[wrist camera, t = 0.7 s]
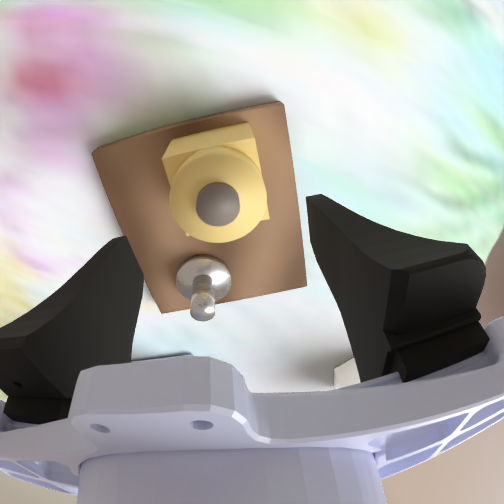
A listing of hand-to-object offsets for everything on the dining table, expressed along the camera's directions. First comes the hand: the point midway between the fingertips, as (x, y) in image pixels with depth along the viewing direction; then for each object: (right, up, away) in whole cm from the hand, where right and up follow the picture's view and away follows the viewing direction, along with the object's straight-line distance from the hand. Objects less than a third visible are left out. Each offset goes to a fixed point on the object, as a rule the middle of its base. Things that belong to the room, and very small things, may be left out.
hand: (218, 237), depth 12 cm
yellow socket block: (-1, +5, +7) cm, 8 cm away
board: (-2, +2, +10) cm, 10 cm away
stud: (-2, -2, +11) cm, 12 cm away
